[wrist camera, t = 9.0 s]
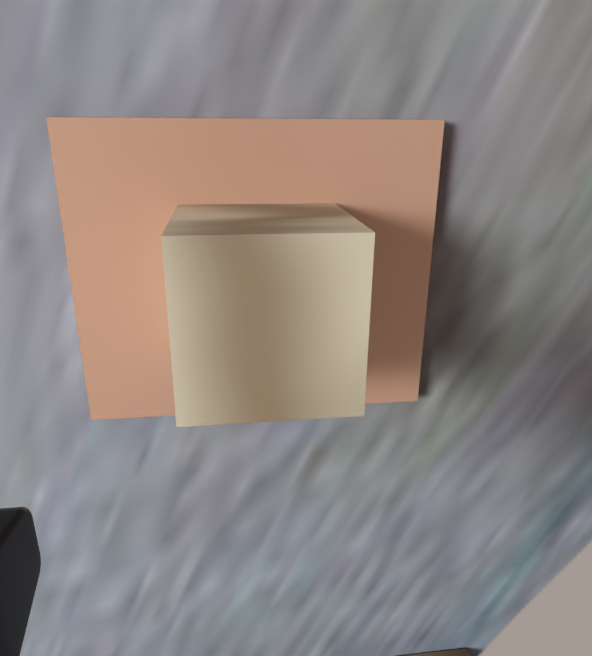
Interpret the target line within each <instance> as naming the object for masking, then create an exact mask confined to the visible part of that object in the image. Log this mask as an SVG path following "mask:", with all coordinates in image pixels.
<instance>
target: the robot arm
mask: <svg viewBox="0 0 592 656" xmlns="http://www.w3.org/2000/svg"><path fill="white" fill-rule="evenodd" d="M40 565H41V558H40V551H39V546H38V541H37V537H36V532H35V527H34V522H33V517H32V514H31V512H30V511H29V509H27V508H25V507H15V508H1V509H0V656H19V655H20V651H21V647H22V643H23V639H24V635H25V631H26V627H27V623H28V619H29V615H30V610H31V606H32V602H33V598H34V594H35V590H36V586H37V582H38V578H39V573H40Z"/></svg>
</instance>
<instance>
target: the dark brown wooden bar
mask: <svg viewBox="0 0 592 656" xmlns="http://www.w3.org/2000/svg"><path fill="white" fill-rule="evenodd" d="M403 656H470V654H469V652H468V650H467V648H463V649H454V650H446V651H437V652H429V653H420V654H412V655H403Z"/></svg>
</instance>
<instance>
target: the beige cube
mask: <svg viewBox="0 0 592 656" xmlns="http://www.w3.org/2000/svg"><path fill="white" fill-rule="evenodd" d="M161 240H162V253H163V265H164V278H165V290H166V303H167V315H168V327H169V340H170V352H171V365H172V377H173V389H174V402H175V414H176V427H186V426H202V425H219V424H236V423H253V422H270V421H287V420H304V419H321V418H338V417H355V416H364V408H365V391H366V375H367V358H368V342H369V325H370V309H371V293H372V276H373V260H374V243H375V232H374V231H372V230H371V229H370V228H368V227H367V226H366V225H364V224H363V223H361V222H360V221H359V220H357V219H356V218H354V217H353V216H352V215H350V214H349V213H347V212H346V211H345V210H343V209H342V208H340V207H339V206H338V205H336V204H335V203H305V204H199V205H177V207H176V209H175V211H174V212H173V214H172V216H171V218H170V220H169V222H168V224H167V226H166V228H165V230H164V231H163V233H162V235H161Z"/></svg>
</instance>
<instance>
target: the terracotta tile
mask: <svg viewBox="0 0 592 656" xmlns="http://www.w3.org/2000/svg"><path fill="white" fill-rule="evenodd" d="M46 119H47V126H48V132H49V139H50V146H51V153H52V159H53V166H54V173H55V180H56V186H57V193H58V200H59V207H60V213H61V220H62V227H63V234H64V240H65V247H66V254H67V261H68V267H69V274H70V281H71V287H72V294H73V301H74V308H75V314H76V321H77V328H78V335H79V341H80V348H81V355H82V362H83V368H84V375H85V382H86V389H87V395H88V402H89V409H90V416H91V420H102V419H119V418H136V417H153V416H169V415H176V414H175V402H174V389H173V377H172V365H171V352H170V340H169V327H168V315H167V303H166V290H165V278H164V265H163V253H162V240H161V235H162V233H163V231H164V230H165V228H166V226H167V224H168V222H169V220H170V218H171V216H172V214H173V212H174V211H175V209H176V207H177V205H199V204H305V203H335V204H336V205H338V206H339V207H340V208H342V209H343V210H345V211H346V212H347V213H349V214H350V215H352V216H353V217H354V218H356V219H357V220H359V221H360V222H361V223H363V224H364V225H366V226H367V227H368V228H370V229H371V230H372V231H374V232H375V243H374V260H373V276H372V293H371V309H370V325H369V342H368V358H367V375H366V391H365V404H372V403H389V402H406V401H418V392H419V382H420V371H421V361H422V350H423V340H424V330H425V319H426V309H427V298H428V288H429V278H430V267H431V257H432V246H433V236H434V226H435V215H436V205H437V195H438V184H439V174H440V163H441V153H442V143H443V132H444V122H445V120H384V119H227V118H70V117H46Z"/></svg>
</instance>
